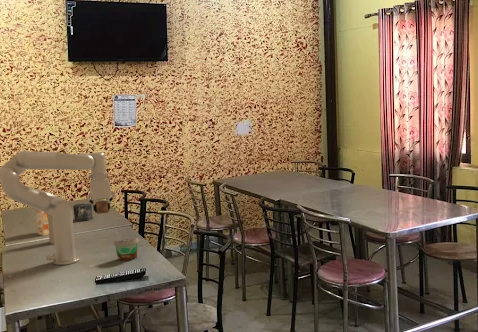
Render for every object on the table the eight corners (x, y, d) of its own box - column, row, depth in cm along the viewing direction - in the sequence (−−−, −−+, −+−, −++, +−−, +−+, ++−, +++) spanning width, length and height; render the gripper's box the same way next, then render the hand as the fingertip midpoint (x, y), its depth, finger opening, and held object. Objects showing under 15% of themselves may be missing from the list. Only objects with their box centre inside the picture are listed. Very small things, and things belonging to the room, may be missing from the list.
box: (74, 220, 359) (72, 205, 358) (79, 218, 365) (78, 203, 364) (87, 221, 356) (86, 205, 355) (93, 218, 362) (92, 203, 361)
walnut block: (97, 213, 272) (96, 203, 271) (95, 211, 277) (95, 201, 276) (108, 212, 274) (107, 201, 273) (106, 210, 279) (105, 200, 278)
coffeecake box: (44, 236, 321) (40, 204, 319) (37, 234, 326) (34, 203, 323) (65, 230, 333) (62, 199, 331) (58, 228, 337) (55, 198, 335)
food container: (115, 263, 260) (113, 243, 259) (114, 259, 266) (113, 239, 265) (141, 259, 263) (139, 239, 262) (140, 256, 269) (138, 236, 268)
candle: (63, 245, 297) (60, 210, 295) (47, 243, 304) (43, 208, 302) (73, 242, 303) (70, 207, 301) (57, 239, 311) (53, 206, 308)
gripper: (82, 179, 266) (85, 214, 269) (117, 175, 273) (120, 210, 275) (80, 177, 273) (84, 212, 276) (114, 174, 280) (117, 208, 282)
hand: (102, 211), depth 275 cm, fingers closed on walnut block, 5 cm apart
